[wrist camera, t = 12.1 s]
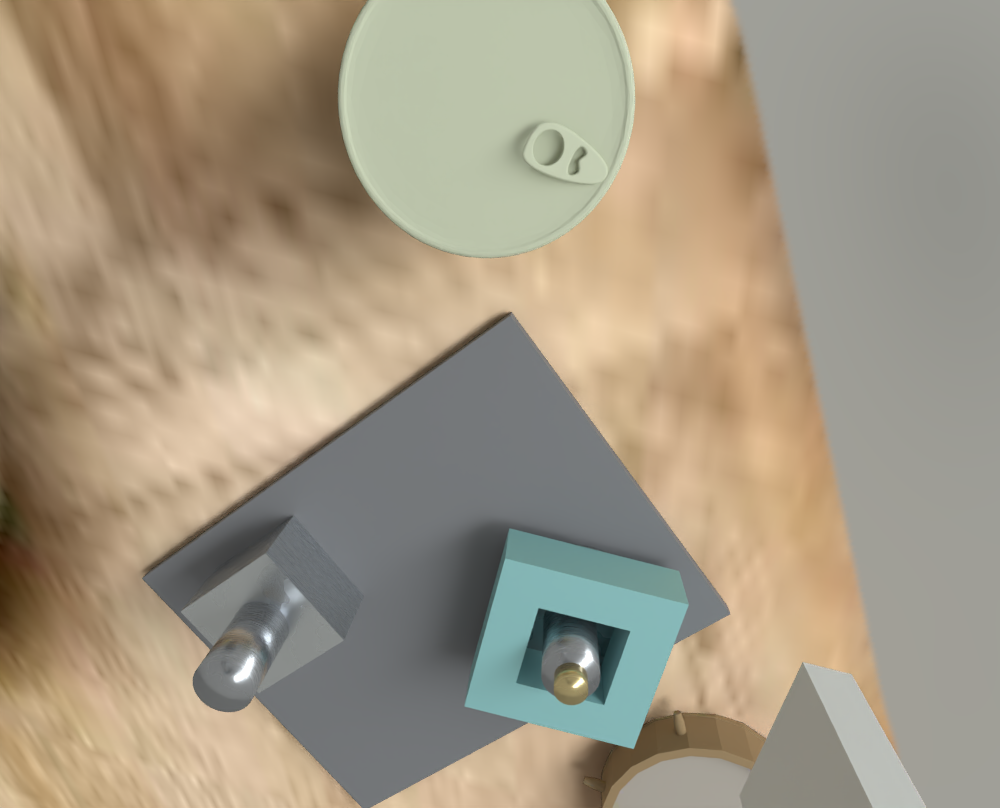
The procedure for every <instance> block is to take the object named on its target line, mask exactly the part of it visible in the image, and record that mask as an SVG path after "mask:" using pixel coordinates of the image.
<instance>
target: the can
mask: <svg viewBox="0 0 1000 808" xmlns="http://www.w3.org/2000/svg"><path fill="white" fill-rule="evenodd" d="M634 109H635V84H634V75H633V68H632V63H631V58H630V54H629V51H628V47H627V44H626V41H625V38H624V35H623V33H622V30H621V28H620V25H619V24H618V22H617V20H616V18H615V16H614V14H613V12H612V10H611V9H610V7H609V5H608V4H607V2H606V1H605V0H368V1H367V2H366V4H365V5H364V7H363V8H362V10H361V12H360V14H359V15H358V17H357V19H356V21H355V23H354V25H353V27H352V30H351V32H350V34H349V37H348V40H347V43H346V46H345V50H344V53H343V57H342V62H341V67H340V73H339V83H338V111H339V120H340V126H341V131H342V136H343V141H344V144H345V147H346V150H347V154H348V156H349V159H350V161H351V164H352V166H353V168H354V171H355V173H356V175H357V177H358V178H359V180H360V182H361V184H362V185H363V187H364V189H365V190H366V192H367V193H368V195H369V196H370V198H371V199H372V200H373V201H374V203H375V204H376V205H377V206H378V208H379V209H380V210H381V211H382V212H383V213H384V214H385V215H386V216H387V217H388V218H389V219H390V220H391V221H392V222H394V223H395V224H396V225H397V226H398V227H400V228H401V229H402V230H404V231H405V232H406V233H408V234H409V235H411V236H412V237H414V238H416V239H417V240H419V241H421V242H423V243H425V244H427V245H429V246H431V247H434V248H436V249H439V250H442V251H444V252H448V253H451V254H455V255H460V256H465V257H475V258H500V257H508V256H514V255H518V254H522V253H525V252H529V251H532V250H535V249H537V248H540V247H542V246H544V245H546V244H549V243H551V242H552V241H554V240H556V239H558V238H560V237H561V236H563V235H564V234H566V233H567V232H569V231H570V230H571V229H572V228H574V227H575V226H576V225H577V224H579V223H580V222H581V221H582V220H583V219H584V218H585V217H586V216H587V215H588V214H589V213H590V212H591V211H592V210H593V209H594V208H595V207H596V206H597V204H598V203H599V202H600V200H601V199H602V198H603V196H604V195H605V193H606V192H607V191H608V189H609V188H610V186H611V184H612V183H613V181H614V179H615V177H616V175H617V173H618V171H619V169H620V167H621V164H622V162H623V159H624V157H625V154H626V151H627V148H628V144H629V140H630V136H631V132H632V127H633V121H634Z"/></svg>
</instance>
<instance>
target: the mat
mask: <svg viewBox="0 0 1000 808" xmlns="http://www.w3.org/2000/svg"><path fill="white" fill-rule="evenodd" d="M292 516H295V518H296V519H297V520H298V521H299V522H300V523H301V524H302V525H303V527H304V528H305V529H306V530H307V531H308V532H309V533H310V535H311V536H312V537H313V538H314V539H315V540H316V541H317V543H318V544H319V545H320V546H321V547H322V548H323V549H324V551H325V552H326V553H327V554H328V555H329V556H330V557H331V559H332V560H333V561H334V562H335V563H336V564H337V565H338V566H339V568H340V569H341V570H342V571H343V572H344V573H345V574H346V576H347V577H348V578H349V579H350V580H351V581H352V582H353V584H354V585H355V586H356V587H357V588H358V589H359V590H360V592H361V593H362V594H363V595H364V597H363V599H362V602H361V604H360V606H359V608H358V610H357V613H356V615H355V617H354V619H353V622H352V624H351V626H350V628H349V630H348V633H347V635H346V637H345V639H344V641H342V642H341V643H339V644H337V645H336V646H334V647H333V648H331V649H329V650H328V651H326V652H325V653H323V654H321V655H320V656H318V657H316V658H315V659H313V660H312V661H310V662H308V663H307V664H305V665H304V666H302V667H300V668H299V669H297V670H296V671H294V672H292V673H291V674H289V675H287V676H286V677H284V678H283V679H281V680H279V681H278V682H276V683H275V684H273V685H271V686H270V687H268V688H266V689H265V690H263V691H262V692H260V693H258V692H257V691H256V693H255V696H256V698H257V699H258V700H259V701H260V702H261V703H262V704H263V705H264V706H265V707H266V708H267V709H268V710H269V711H270V712H271V713H272V714H273V715H274V716H275V717H276V718H277V719H278V720H279V721H280V723H281V724H282V725H283V726H284V727H285V728H286V729H287V730H288V731H289V732H290V733H291V734H292V735H293V736H294V737H295V738H296V739H297V740H298V741H299V742H300V743H301V744H302V745H303V746H304V748H305V749H306V750H307V751H308V752H309V753H310V754H311V755H312V756H313V757H314V758H315V759H316V760H317V761H318V762H319V763H320V764H321V765H322V766H323V767H324V768H325V769H326V770H327V771H328V773H329V774H330V775H331V776H332V777H333V778H334V779H335V780H336V781H337V782H338V783H339V784H340V785H341V786H342V787H343V788H344V789H345V790H346V791H347V792H348V793H349V794H350V795H351V796H352V797H353V799H354V800H355V801H356V802H357V803H358V804H359V805H360V806H361V807H362V808H370V807H372V806H374V805H376V804H378V803H380V802H382V801H383V800H385V799H387V798H389V797H391V796H393V795H395V794H396V793H398V792H400V791H402V790H404V789H406V788H408V787H409V786H411V785H413V784H415V783H417V782H419V781H421V780H422V779H424V778H426V777H428V776H430V775H432V774H434V773H435V772H437V771H439V770H441V769H443V768H445V767H447V766H449V765H450V764H452V763H454V762H456V761H458V760H460V759H462V758H463V757H465V756H467V755H469V754H471V753H473V752H475V751H476V750H478V749H480V748H482V747H484V746H486V745H488V744H489V743H491V742H493V741H495V740H497V739H499V738H501V737H502V736H504V735H506V734H508V733H510V732H512V731H514V730H516V729H517V728H519V727H521V726H523V725H525V724H527V723H528V722H524V721H520V720H516V719H512V718H508V717H504V716H500V715H496V714H492V713H488V712H484V711H480V710H476V709H473V708H469V707H465V706H464V705H465V699H466V694H467V688H468V682H469V677H470V671H471V666H472V663H473V659H474V655H475V652H476V648H477V644H478V641H479V637H480V633H481V630H482V626H483V623H484V619H485V615H486V612H487V608H488V604H489V601H490V597H491V593H492V590H493V586H494V582H495V579H496V575H497V571H498V568H499V564H500V561H501V557H502V553H503V550H504V546H505V542H506V539H507V535H508V531H509V528H510V529H514V530H518V531H522V532H526V533H530V534H534V535H538V536H542V537H546V538H550V539H554V540H558V541H562V542H566V543H570V544H575V545H583V546H587V547H592V548H595V549H598V550H600V551H603V552H606V553H610V554H614V555H618V556H622V557H625V558H629V559H633V560H637V561H641V562H645V563H649V564H653V565H657V566H661V567H665V568H669V569H673V570H677V571H679V572H680V576H681V579H682V583H683V586H684V589H685V593H686V596H687V600H688V603H689V606H688V608H687V611H686V614H685V616H684V619H683V621H682V624H681V627H680V629H679V632H678V634H677V637H676V640H675V642H674V644H676V643H677V642H679V641H681V640H683V639H685V638H687V637H689V636H690V635H692V634H694V633H696V632H698V631H700V630H702V629H704V628H705V627H707V626H709V625H711V624H713V623H715V622H717V621H718V620H720V619H722V618H724V617H726V616H728V615H730V612H729V609H728V607H727V605H726V603H725V602H724V601H723V599H722V598H721V597H720V595H719V594H718V592H717V591H716V590H715V588H714V587H713V586H712V584H711V583H710V582H709V580H708V579H707V577H706V576H705V575H704V573H703V572H702V571H701V569H700V568H699V567H698V565H697V564H696V562H695V561H694V560H693V558H692V557H691V556H690V554H689V553H688V552H687V550H686V549H685V548H684V546H683V545H682V543H681V542H680V541H679V539H678V538H677V537H676V535H675V534H674V533H673V531H672V530H671V528H670V527H669V526H668V524H667V523H666V522H665V520H664V519H663V518H662V516H661V515H660V514H659V512H658V511H657V509H656V508H655V507H654V505H653V504H652V503H651V501H650V500H649V499H648V497H647V496H646V494H645V493H644V492H643V490H642V489H641V488H640V486H639V485H638V484H637V482H636V481H635V480H634V478H633V477H632V475H631V474H630V473H629V471H628V470H627V469H626V467H625V466H624V465H623V463H622V462H621V460H620V459H619V458H618V456H617V455H616V454H615V452H614V451H613V450H612V448H611V447H610V445H609V444H608V443H607V441H606V440H605V439H604V437H603V436H602V435H601V433H600V432H599V431H598V429H597V428H596V426H595V425H594V424H593V422H592V421H591V420H590V418H589V417H588V416H587V414H586V413H585V411H584V410H583V409H582V407H581V406H580V405H579V403H578V402H577V401H576V399H575V398H574V397H573V395H572V394H571V392H570V391H569V390H568V388H567V387H566V386H565V384H564V383H563V382H562V380H561V379H560V377H559V376H558V375H557V373H556V372H555V371H554V369H553V368H552V367H551V365H550V364H549V363H548V361H547V360H546V358H545V357H544V356H543V354H542V353H541V352H540V350H539V349H538V348H537V346H536V345H535V343H534V342H533V341H532V339H531V338H530V337H529V335H528V334H527V333H526V331H525V330H524V328H523V327H522V326H521V324H520V323H519V322H518V320H517V319H516V318H515V316H514V315H513V314H512V312H511V313H510V314H508V315H507V316H505V317H504V318H503V319H501V320H500V321H498V322H497V323H496V324H494V325H493V326H491V327H490V328H489V329H487V330H486V331H484V332H483V333H482V334H480V335H479V336H477V337H476V338H475V339H473V340H472V341H470V342H469V343H468V344H466V345H465V346H463V347H462V348H461V349H459V350H458V351H456V352H455V353H454V354H452V355H451V356H449V357H448V358H447V359H445V360H444V361H442V362H441V363H440V364H438V365H437V366H435V367H434V368H433V369H431V370H430V371H428V372H427V373H426V374H424V375H423V376H421V377H420V378H419V379H417V380H416V381H414V382H413V383H412V384H410V385H409V386H407V387H406V388H405V389H403V390H402V391H400V392H399V393H398V394H396V395H395V396H393V397H392V398H391V399H389V400H388V401H386V402H385V403H384V404H382V405H381V406H379V407H378V408H377V409H375V410H374V411H372V412H371V413H370V414H368V415H367V416H366V417H364V418H363V419H361V420H360V421H359V422H357V423H356V424H354V425H353V426H352V427H350V428H349V429H347V430H346V431H345V432H343V433H342V434H340V435H339V436H338V437H336V438H335V439H333V440H332V441H331V442H329V443H328V444H326V445H325V446H324V447H322V448H321V449H319V450H318V451H317V452H315V453H314V454H312V455H311V456H310V457H308V458H307V459H305V460H304V461H303V462H301V463H300V464H298V465H297V466H296V467H294V468H293V469H291V470H290V471H289V472H287V473H286V474H284V475H283V476H282V477H280V478H279V479H277V480H276V481H275V482H273V483H272V484H270V485H269V486H268V487H266V488H265V489H263V490H262V491H261V492H259V493H258V494H256V495H255V496H254V497H252V498H251V499H249V500H248V501H247V502H245V503H244V504H242V505H241V506H240V507H238V508H237V509H235V510H234V511H233V512H231V513H230V514H228V515H227V516H226V517H224V518H223V519H221V520H220V521H219V522H217V523H216V524H215V525H213V526H212V527H210V528H209V529H208V530H206V531H205V532H203V533H202V534H201V535H199V536H198V537H196V538H195V539H194V540H192V541H191V542H189V543H188V544H187V545H185V546H184V547H182V548H181V549H180V550H178V551H177V552H175V553H174V554H173V555H171V556H170V557H168V558H167V559H166V560H164V561H163V562H161V563H160V564H159V565H157V566H156V567H154V568H153V569H152V570H150V571H149V572H148V573H147V574H146V575H145V576H144V577H143V578H142V579H143V580H144V581H145V582H146V583H147V584H148V585H149V586H150V587H151V588H152V589H153V590H154V591H155V592H156V593H157V594H158V596H159V597H160V598H161V599H162V600H163V601H164V602H165V603H166V604H167V605H168V606H169V607H170V608H171V609H172V610H173V611H174V612H175V613H176V614H177V615H178V616H179V617H180V618H181V619H182V620H183V622H184V623H185V624H186V625H187V626H188V627H189V628H190V629H191V630H192V631H193V632H194V633H195V634H196V635H197V636H198V637H199V638H200V639H201V640H202V641H203V642H204V643H205V644H206V645H207V647H208V648H209V649H210V650H211V649H212V647H213V645H212V644H211V643H210V642H209V641H208V640H207V639H206V638H205V637H204V636H203V635H202V634H201V633H200V632H199V631H198V629H197V628H196V627H195V626H194V625H193V624H192V623H191V622H190V621H189V620H188V619H187V618H186V617H185V616H184V615H183V614H182V613H181V612H180V611H181V610H182V609H183V608H184V607H185V605H186V604H187V603H188V602H189V601H190V600H191V598H192V597H193V596H194V595H195V594H196V592H197V591H198V590H199V589H200V588H201V586H202V585H203V584H204V583H205V582H206V580H207V579H208V578H209V577H210V576H211V574H212V573H213V572H214V571H215V570H216V569H217V568H219V567H220V566H222V565H223V564H224V563H226V562H227V561H229V560H230V559H232V558H233V557H235V556H236V555H237V554H239V553H240V552H242V551H243V550H245V549H246V548H248V547H249V546H250V545H252V544H253V543H255V542H256V541H258V540H259V539H261V538H262V537H263V536H265V535H266V534H268V533H269V532H271V531H272V530H274V529H275V528H276V527H278V526H279V525H281V524H282V523H284V522H285V521H287V520H288V519H289V518H291V517H292Z"/></svg>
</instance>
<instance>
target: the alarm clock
mask: <svg viewBox="0 0 1000 808" xmlns="http://www.w3.org/2000/svg"><path fill="white" fill-rule="evenodd" d="M765 741H766V739H765V738H764V737H762V736H761V735H759V734H758V733H757V732H755V731H754V730H752V729H751V728H749V727H748V726H747V725H745V724H744V723H741V722H738V721H735V720H732V719H729V718H726V717H723V716H720V715H716V714H700V713H681V712H680V711H678V710H677V711H674V715H672V716H667V717H663V718H658V719H654V720H652V721H650V722H648V723H647V724H645V725H643V726H642V728H641V731H640V734H639V736H638V739H637V742H636V744H635V747H634V749H631V748H627V747H623V746H619V745H617V746H616V747H615V748H614V749H613V750H612V751H611V753H610V755H609V757H608V759H607V762H606V764H605V766H604V768H603V771H602V774H601V780H600V779H597V778H592V777H585V778H584V783H583V784H585V785H587V786H588V787H590V788H592V789H594V790H597V791H600V792H601V800H602V806H601V808H743V806H742V803H741V799H740V796H739V795H740V793H741V791H742V789H743V787H744V785H745V783H746V781H747V779H748V776H749V774H750V772H751V770H752V768H753V766H754V764H755V762H756V760H757V758H758V755H759V753H760V751H761V749H762V747H763V745H764V743H765Z"/></svg>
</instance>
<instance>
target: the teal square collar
mask: <svg viewBox="0 0 1000 808" xmlns="http://www.w3.org/2000/svg"><path fill="white" fill-rule="evenodd" d="M688 606H689V603H688V600H687V596H686V593H685V589H684V586H683V583H682V579H681V576H680V572H679V571H677V570H673V569H669V568H665V567H661V566H657V565H653V564H649V563H645V562H641V561H637V560H633V559H629V558H625V557H622V556H618V555H614V554H610V553H606V552H602V551H598V550H594V549H590V548H586V547H582V546H578V545H574V544H570V543H566V542H562V541H558V540H554V539H550V538H546V537H542V536H538V535H534V534H530V533H526V532H522V531H518V530H514V529H510V528H509V531H508V535H507V539H506V542H505V546H504V550H503V553H502V557H501V561H500V564H499V568H498V571H497V575H496V579H495V582H494V586H493V590H492V593H491V597H490V601H489V604H488V608H487V612H486V615H485V619H484V623H483V626H482V630H481V633H480V637H479V641H478V644H477V648H476V652H475V655H474V659H473V663H472V666H471V671H470V677H469V682H468V688H467V694H466V699H465V705H464V706H465V707H469V708H473V709H476V710H480V711H484V712H488V713H492V714H496V715H500V716H504V717H508V718H512V719H516V720H520V721H524V722H528V723H532V724H536V725H540V726H544V727H548V728H552V729H556V730H560V731H564V732H568V733H572V734H576V735H580V736H584V737H588V738H592V739H596V740H600V741H604V742H608V743H612V744H616V745H619V746H623V747H627V748H631V749H634V747H635V744H636V742H637V739H638V736H639V734H640V731H641V728H642V726H643V723H644V721H645V718H646V715H647V713H648V710H649V708H650V705H651V702H652V700H653V697H654V695H655V692H656V689H657V687H658V684H659V681H660V679H661V676H662V674H663V671H664V668H665V666H666V663H667V661H668V658H669V655H670V653H671V650H672V648H673V645H674V642H675V640H676V637H677V634H678V632H679V629H680V627H681V624H682V621H683V619H684V616H685V614H686V611H687V608H688ZM538 608H541V609H545V610H549V611H553V612H557V613H560V614H564V615H568V616H572V617H576V618H580V619H584V620H588V621H592V622H596V623H600V624H604V625H608V626H612V627H614V630H613V633H612V636H611V639H610V642H609V645H608V648H607V651H606V653H605V656H604V659H603V662H602V665H601V666H600V683H599V686H598V688H597V689H596V690H595V692H594V693H592V694H591V695H590V696H588V697H587V698H586V699H585V700H584V701H583V702H582V703H580V704H577V705H566V704H563V703H561V702H560V701H559V700H558V699H557V698H556V697H555V696H553V695H552V694H551V693H549V692H548V691H547V689H546V688H545V687H544V685H543V682H542V678H541V669H542V651H538V650H534V649H530V648H527V645H528V641H529V638H530V635H531V631H532V628H533V625H534V621H535V618H536V615H537V611H538Z"/></svg>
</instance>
